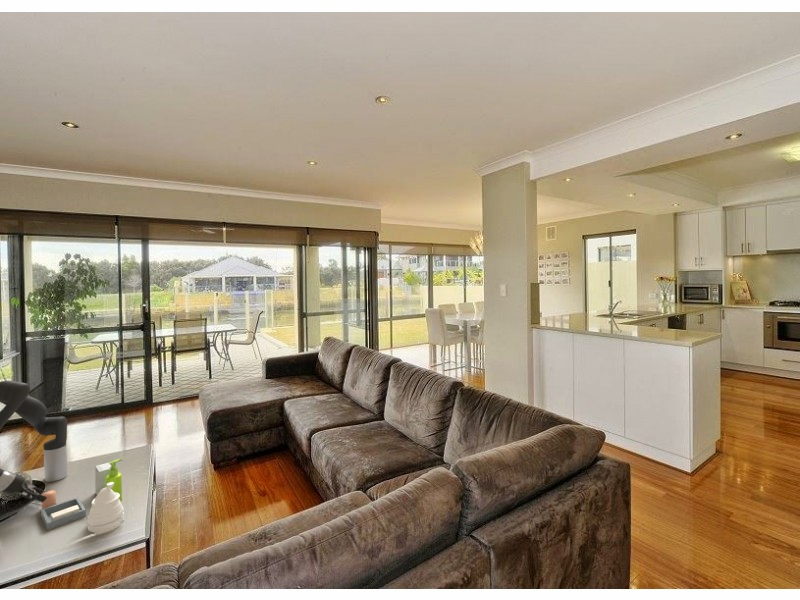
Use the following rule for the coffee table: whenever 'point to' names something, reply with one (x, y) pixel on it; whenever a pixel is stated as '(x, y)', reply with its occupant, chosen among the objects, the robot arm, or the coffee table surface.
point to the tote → (65, 519)
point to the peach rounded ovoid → (49, 499)
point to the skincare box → (101, 476)
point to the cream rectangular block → (64, 512)
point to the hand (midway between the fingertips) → (43, 496)
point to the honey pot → (105, 511)
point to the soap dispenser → (115, 478)
